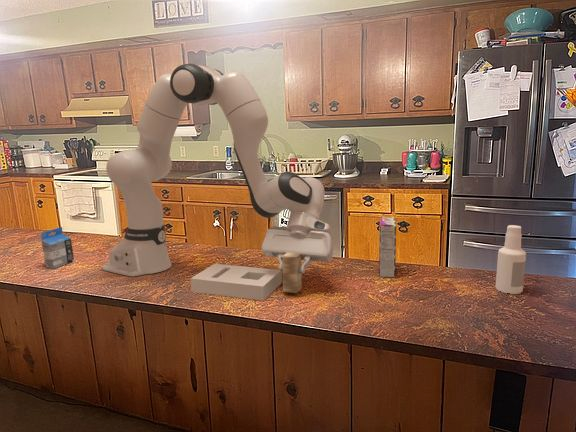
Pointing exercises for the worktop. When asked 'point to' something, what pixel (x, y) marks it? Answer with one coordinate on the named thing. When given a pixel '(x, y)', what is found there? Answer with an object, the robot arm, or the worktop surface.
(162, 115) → the robot arm
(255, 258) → the worktop surface
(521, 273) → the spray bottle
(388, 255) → the candy bar box
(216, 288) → the socket board
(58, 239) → the label tape box
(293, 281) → the square peg
